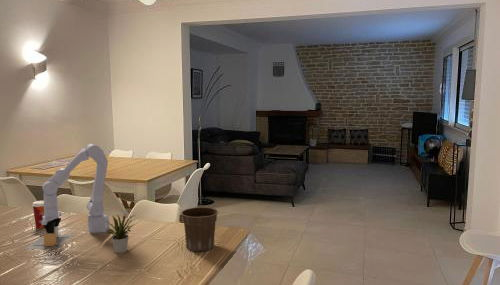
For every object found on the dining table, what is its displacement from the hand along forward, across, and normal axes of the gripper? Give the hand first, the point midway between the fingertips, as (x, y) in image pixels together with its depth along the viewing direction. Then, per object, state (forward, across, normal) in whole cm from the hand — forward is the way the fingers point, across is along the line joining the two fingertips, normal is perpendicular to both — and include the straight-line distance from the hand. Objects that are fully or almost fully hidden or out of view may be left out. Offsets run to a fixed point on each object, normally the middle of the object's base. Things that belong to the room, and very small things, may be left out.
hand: (52, 235), depth 180 cm
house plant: (+2, +13, +38) cm, 40 cm away
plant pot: (+2, +9, +71) cm, 71 cm away
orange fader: (+1, +10, +4) cm, 11 cm away
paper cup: (+2, -16, -13) cm, 21 cm away
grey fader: (+1, 0, 0) cm, 1 cm away
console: (+2, +5, +2) cm, 6 cm away
